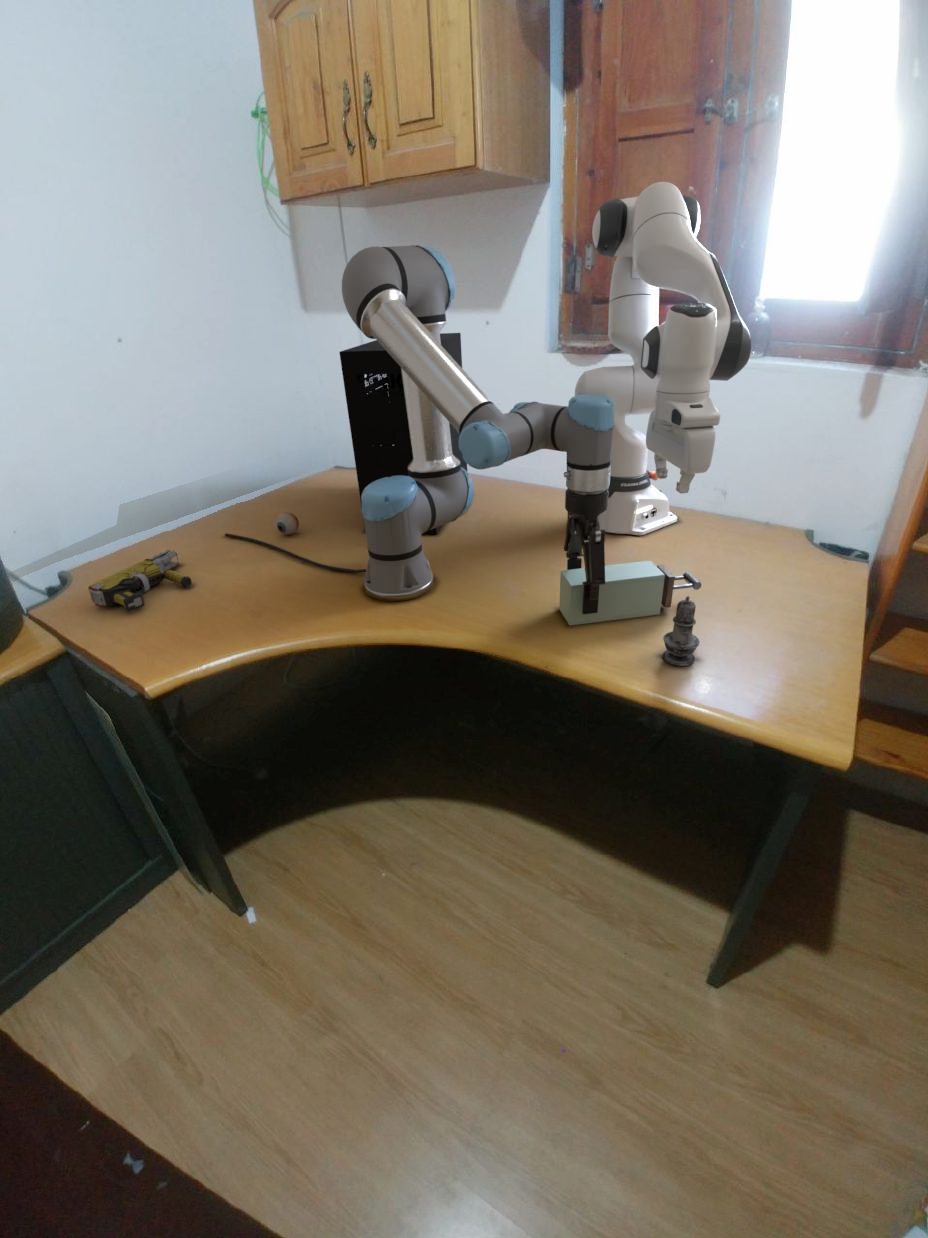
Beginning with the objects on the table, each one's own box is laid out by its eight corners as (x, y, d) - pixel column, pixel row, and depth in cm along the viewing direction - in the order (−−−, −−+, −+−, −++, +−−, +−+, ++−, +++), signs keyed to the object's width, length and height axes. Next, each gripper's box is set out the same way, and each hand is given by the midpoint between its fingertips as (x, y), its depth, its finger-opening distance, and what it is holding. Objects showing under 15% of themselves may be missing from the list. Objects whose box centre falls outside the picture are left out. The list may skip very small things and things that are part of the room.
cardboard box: (436, 534, 159) (422, 349, 137) (364, 531, 164) (339, 351, 141) (468, 489, 191) (460, 332, 168) (407, 487, 195) (391, 335, 173)
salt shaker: (698, 668, 101) (709, 605, 95) (662, 665, 103) (670, 603, 97) (694, 649, 106) (704, 588, 100) (659, 647, 108) (667, 587, 102)
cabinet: (645, 598, 124) (650, 560, 119) (659, 614, 118) (665, 574, 114) (559, 609, 122) (560, 570, 117) (569, 625, 116) (571, 585, 112)
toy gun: (215, 558, 145) (165, 547, 149) (137, 600, 125) (81, 586, 129) (218, 575, 148) (168, 564, 152) (142, 619, 128) (87, 605, 131)
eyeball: (273, 537, 164) (268, 516, 161) (287, 528, 169) (282, 508, 166) (291, 539, 161) (286, 518, 158) (305, 530, 166) (301, 510, 163)
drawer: (686, 591, 124) (691, 561, 120) (699, 603, 119) (705, 572, 115) (577, 604, 121) (578, 574, 118) (586, 617, 116) (588, 586, 113)
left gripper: (549, 473, 115) (547, 578, 127) (587, 511, 96) (580, 631, 108) (587, 469, 116) (581, 574, 127) (632, 506, 97) (621, 626, 108)
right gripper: (641, 398, 114) (634, 471, 121) (688, 419, 97) (677, 502, 103) (673, 396, 115) (665, 468, 122) (726, 416, 97) (712, 499, 104)
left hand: (581, 600), depth 117 cm, fingers open, 9 cm apart
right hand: (671, 484), depth 112 cm, fingers open, 8 cm apart
